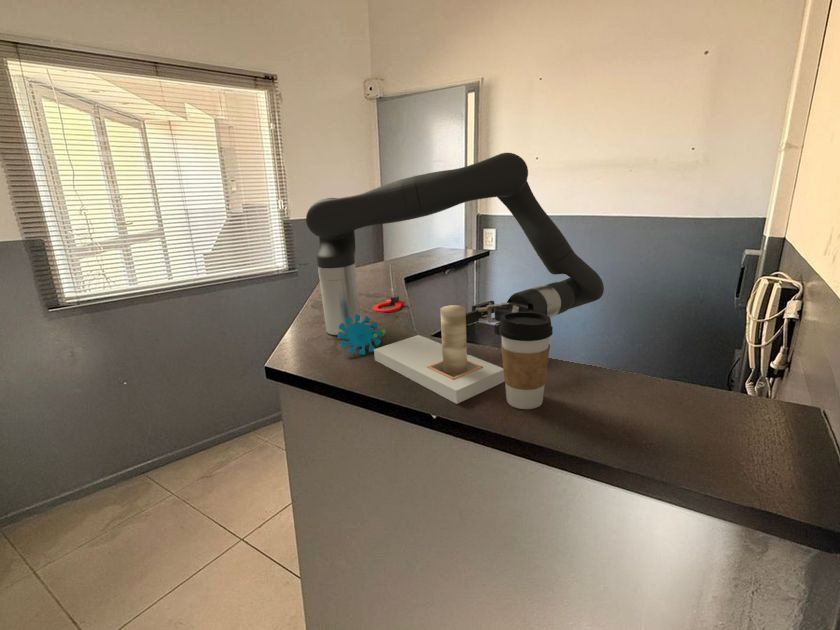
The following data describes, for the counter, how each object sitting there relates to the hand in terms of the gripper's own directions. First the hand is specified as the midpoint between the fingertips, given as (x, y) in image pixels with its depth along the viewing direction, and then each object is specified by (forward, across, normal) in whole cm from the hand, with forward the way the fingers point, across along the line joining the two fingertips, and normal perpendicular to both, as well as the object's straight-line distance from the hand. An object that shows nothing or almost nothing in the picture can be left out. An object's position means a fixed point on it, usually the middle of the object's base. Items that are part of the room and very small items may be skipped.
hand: (479, 324), depth 83 cm
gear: (+11, -26, +10) cm, 30 cm away
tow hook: (-11, -50, +10) cm, 52 cm away
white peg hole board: (+7, -6, +9) cm, 13 cm away
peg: (+7, 0, +9) cm, 11 cm away
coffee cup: (+4, +14, +10) cm, 17 cm away
